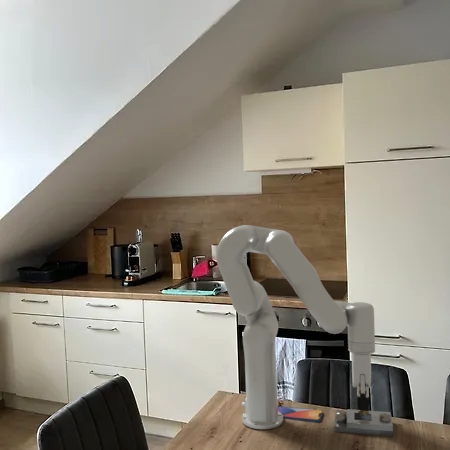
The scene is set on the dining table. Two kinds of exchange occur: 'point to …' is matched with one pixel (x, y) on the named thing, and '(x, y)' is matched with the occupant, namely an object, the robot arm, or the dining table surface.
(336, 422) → the grey block with knobs
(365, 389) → the pin
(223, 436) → the dining table surface
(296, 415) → the smartphone
